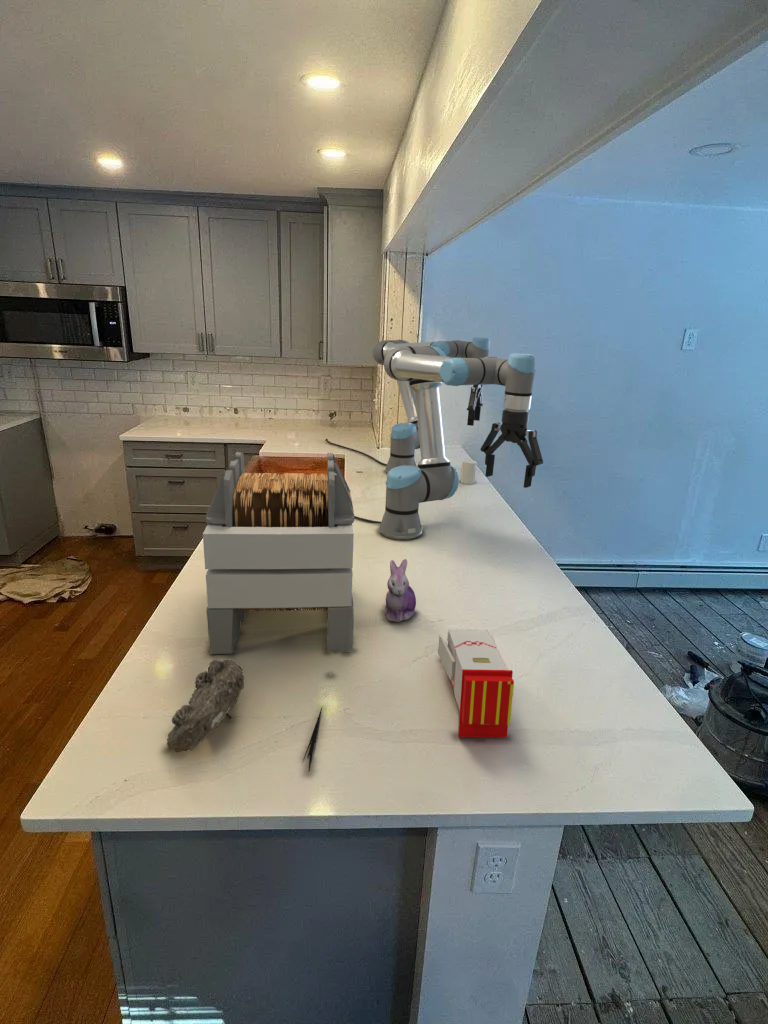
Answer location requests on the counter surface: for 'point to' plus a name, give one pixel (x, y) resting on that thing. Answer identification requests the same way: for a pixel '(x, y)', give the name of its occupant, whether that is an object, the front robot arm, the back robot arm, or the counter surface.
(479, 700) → the toy
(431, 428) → the front robot arm
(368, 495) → the counter surface
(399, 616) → the figurine
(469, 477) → the cylinder
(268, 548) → the record storage crate
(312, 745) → the feather
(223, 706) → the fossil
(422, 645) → the counter surface
